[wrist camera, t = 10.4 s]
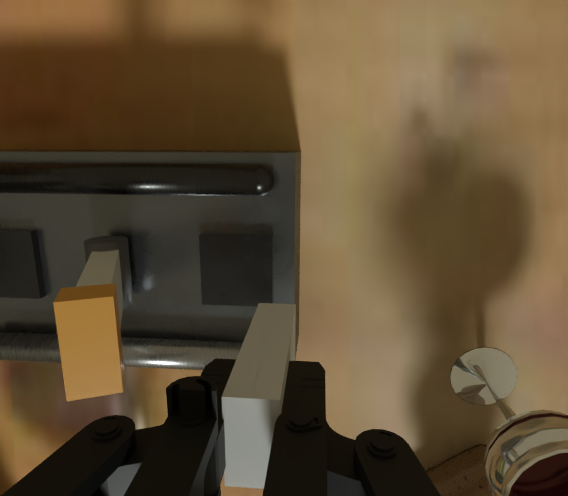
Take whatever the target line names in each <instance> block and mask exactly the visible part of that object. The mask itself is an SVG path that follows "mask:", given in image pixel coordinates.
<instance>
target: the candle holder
mask: <svg viewBox="0 0 568 496" xmlns="http://www.w3.org/2000/svg"><path fill="white" fill-rule="evenodd" d="M485 447H486V446H484V445H477V446H475V447H473V448H470V449H468V450H466V451H464V452H462V453H460V454H458V455H456V456H454V457H452V458H450V459H448V460H446V461H444V462H443V463H441V464H439V465H437V466H435V467H433V468H431V469H429V470H427V471H426V473H427V475H428V476H429V478H430V479H431V481H432V482H433V484H434V486H435V487H436V489H437V490H438V492H439V494H440V495H441V496H492V495H491V493H490V491H489V489H488V486H487V482H486V479H485V472H484V463H483V459H484V451H485Z"/></svg>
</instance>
